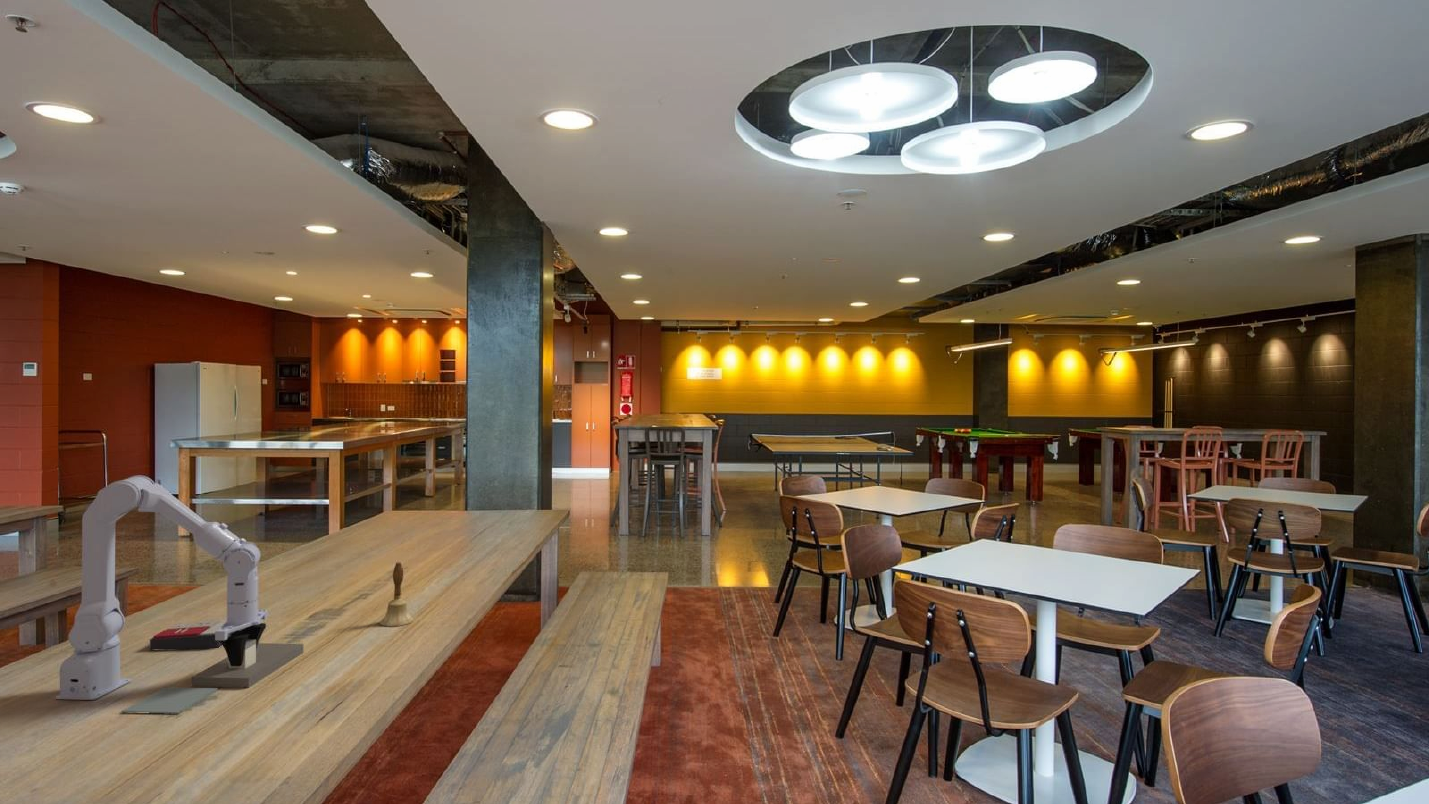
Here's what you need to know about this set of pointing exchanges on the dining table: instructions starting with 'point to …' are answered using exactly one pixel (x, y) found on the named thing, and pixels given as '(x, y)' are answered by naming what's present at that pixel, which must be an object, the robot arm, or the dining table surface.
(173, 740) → the dining table surface
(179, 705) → the mat
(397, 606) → the hand bell
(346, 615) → the dining table surface
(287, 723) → the dining table surface
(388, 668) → the dining table surface
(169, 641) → the black and red box
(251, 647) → the plug
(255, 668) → the grey slotted plate
